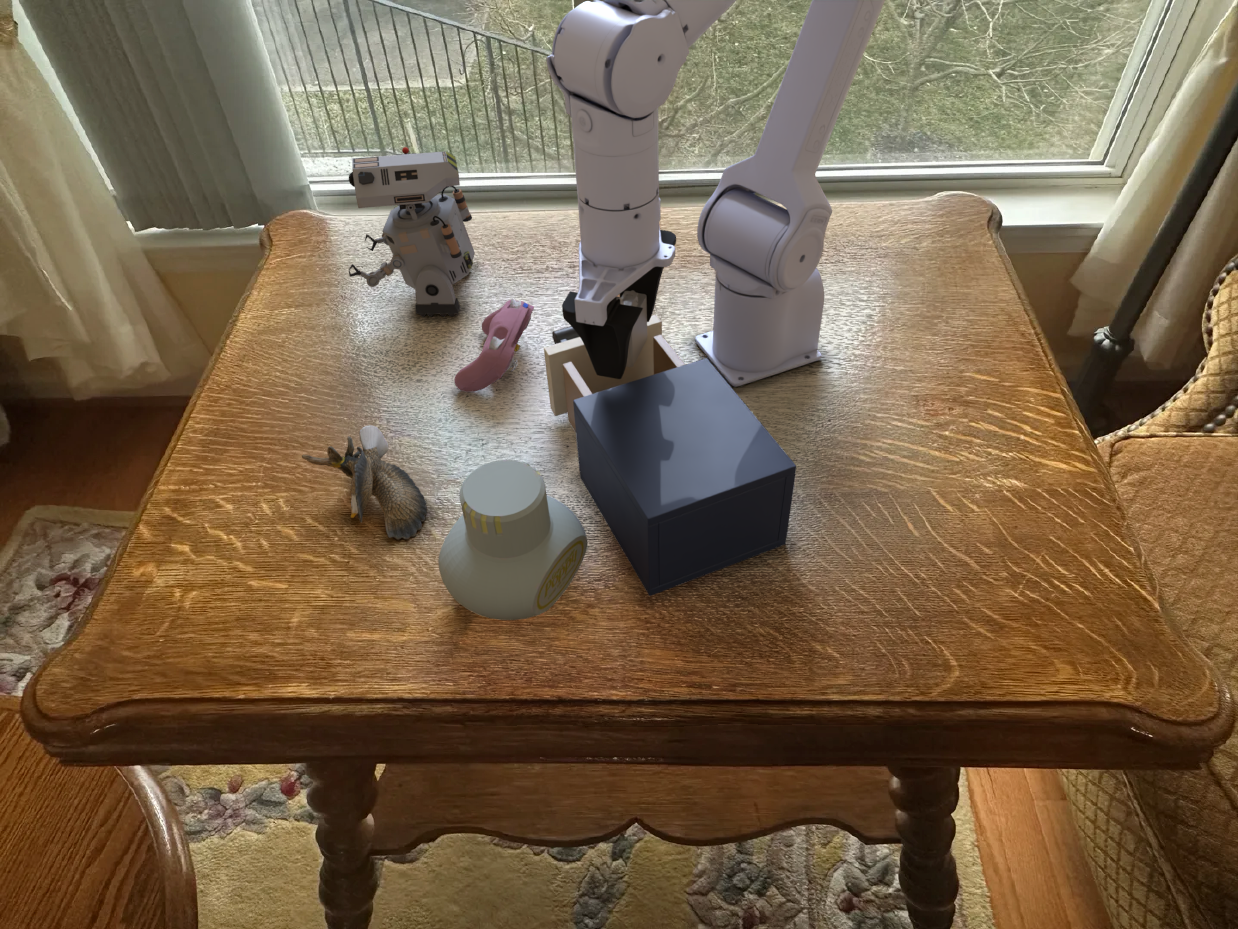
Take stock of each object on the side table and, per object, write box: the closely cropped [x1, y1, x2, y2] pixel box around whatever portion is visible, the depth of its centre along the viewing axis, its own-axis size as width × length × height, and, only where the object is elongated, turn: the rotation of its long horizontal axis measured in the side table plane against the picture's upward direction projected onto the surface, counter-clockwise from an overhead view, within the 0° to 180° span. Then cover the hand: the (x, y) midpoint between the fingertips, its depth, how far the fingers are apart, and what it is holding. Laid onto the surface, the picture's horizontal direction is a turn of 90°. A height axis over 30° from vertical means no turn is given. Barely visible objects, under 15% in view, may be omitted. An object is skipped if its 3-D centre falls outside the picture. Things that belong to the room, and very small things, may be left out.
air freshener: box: [437, 459, 588, 621], centre depth 67 cm, size 11×8×10 cm
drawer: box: [543, 314, 686, 434], centre depth 79 cm, size 17×10×7 cm, turn 24°
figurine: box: [348, 146, 476, 318], centre depth 93 cm, size 9×12×15 cm
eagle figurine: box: [301, 424, 428, 540], centre depth 75 cm, size 8×7×9 cm
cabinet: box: [573, 357, 797, 597], centre depth 72 cm, size 14×12×9 cm
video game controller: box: [454, 297, 535, 393], centre depth 87 cm, size 10×5×7 cm, turn 168°
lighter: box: [616, 290, 647, 367], centre depth 73 cm, size 7×2×8 cm, turn 161°
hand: (624, 345), depth 75 cm, fingers closed on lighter, 7 cm apart
